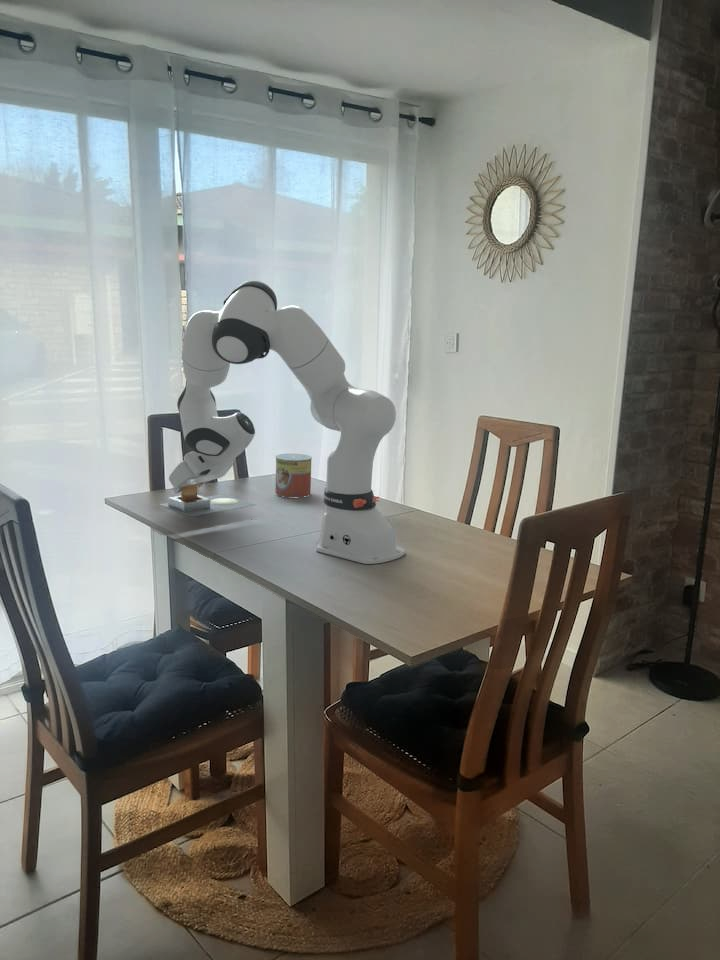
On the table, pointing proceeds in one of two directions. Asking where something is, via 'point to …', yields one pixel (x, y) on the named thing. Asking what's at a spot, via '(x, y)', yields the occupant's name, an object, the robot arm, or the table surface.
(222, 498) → the base plate
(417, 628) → the table surface
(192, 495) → the plug
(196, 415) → the robot arm
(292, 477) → the canned food
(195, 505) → the collar
